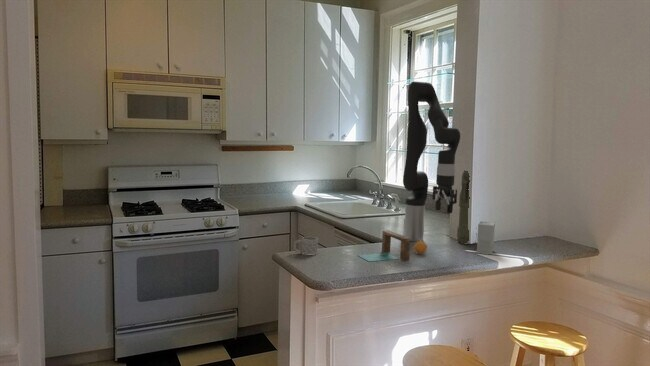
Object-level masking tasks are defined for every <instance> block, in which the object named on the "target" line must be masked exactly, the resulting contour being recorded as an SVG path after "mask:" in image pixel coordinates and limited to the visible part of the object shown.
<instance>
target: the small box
mask: <svg viewBox="0 0 650 366" xmlns="http://www.w3.org/2000/svg"><path fill="white" fill-rule="evenodd" d="M477 226H478V227H477V240H476V241H477V243H476V254H479V253H483V254H482V255H488V254H490V255H491V256H492V255H493V253H494V245H495V244H494V243H495V232H496V231H495V227H496V222H492V221H480V222H479V223H478V225H477Z"/></svg>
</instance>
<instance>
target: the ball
mask: <svg viewBox="0 0 650 366" xmlns="http://www.w3.org/2000/svg"><path fill="white" fill-rule="evenodd" d="M413 250H414V252H415V253H416V254H417V255H418V254H419V255H423V254H425V253H426V251H427V250H428V246H427V244H426V243H425V241H415V243H414V246H413Z"/></svg>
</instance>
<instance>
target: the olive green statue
mask: <svg viewBox="0 0 650 366" xmlns="http://www.w3.org/2000/svg"><path fill="white" fill-rule="evenodd" d="M463 171H464V172H462V174H461V188H462V189H460V192H459V197H458V200H459V201H458V206H459V215H458V216H459V219H458V226H457V228H456V229H457V230H456V232H457V233H456V237H457V239H456V242H457V241H458V242H462V243H467V242H468V241H469V230H468V208H469V199H470V197H469V190H468V189H469V182H470V180H469V177H470V176H469V173H468V171H465V169H464V170H463ZM458 242H457V243H458ZM462 243H461V244H462Z"/></svg>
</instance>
